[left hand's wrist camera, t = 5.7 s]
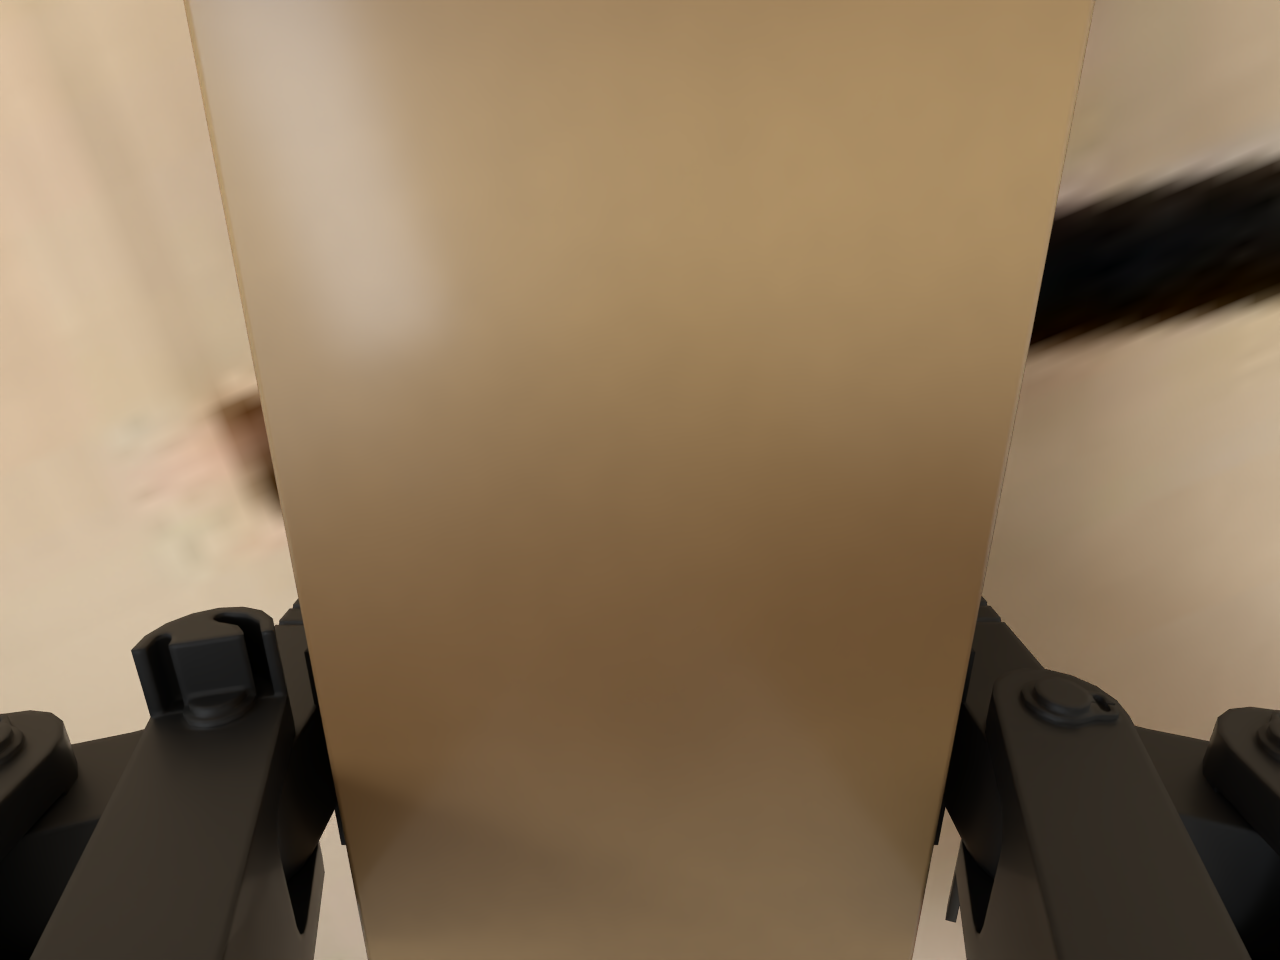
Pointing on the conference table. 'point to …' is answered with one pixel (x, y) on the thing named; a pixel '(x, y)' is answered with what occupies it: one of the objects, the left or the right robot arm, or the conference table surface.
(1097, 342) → the conference table surface
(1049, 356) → the conference table surface
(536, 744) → the post
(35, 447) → the conference table surface
